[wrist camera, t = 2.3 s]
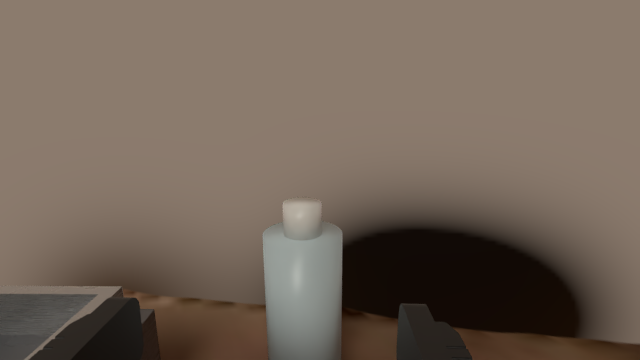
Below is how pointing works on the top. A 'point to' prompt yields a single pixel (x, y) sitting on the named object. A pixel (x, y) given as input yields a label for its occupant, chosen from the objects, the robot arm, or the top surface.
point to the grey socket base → (56, 317)
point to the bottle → (303, 284)
